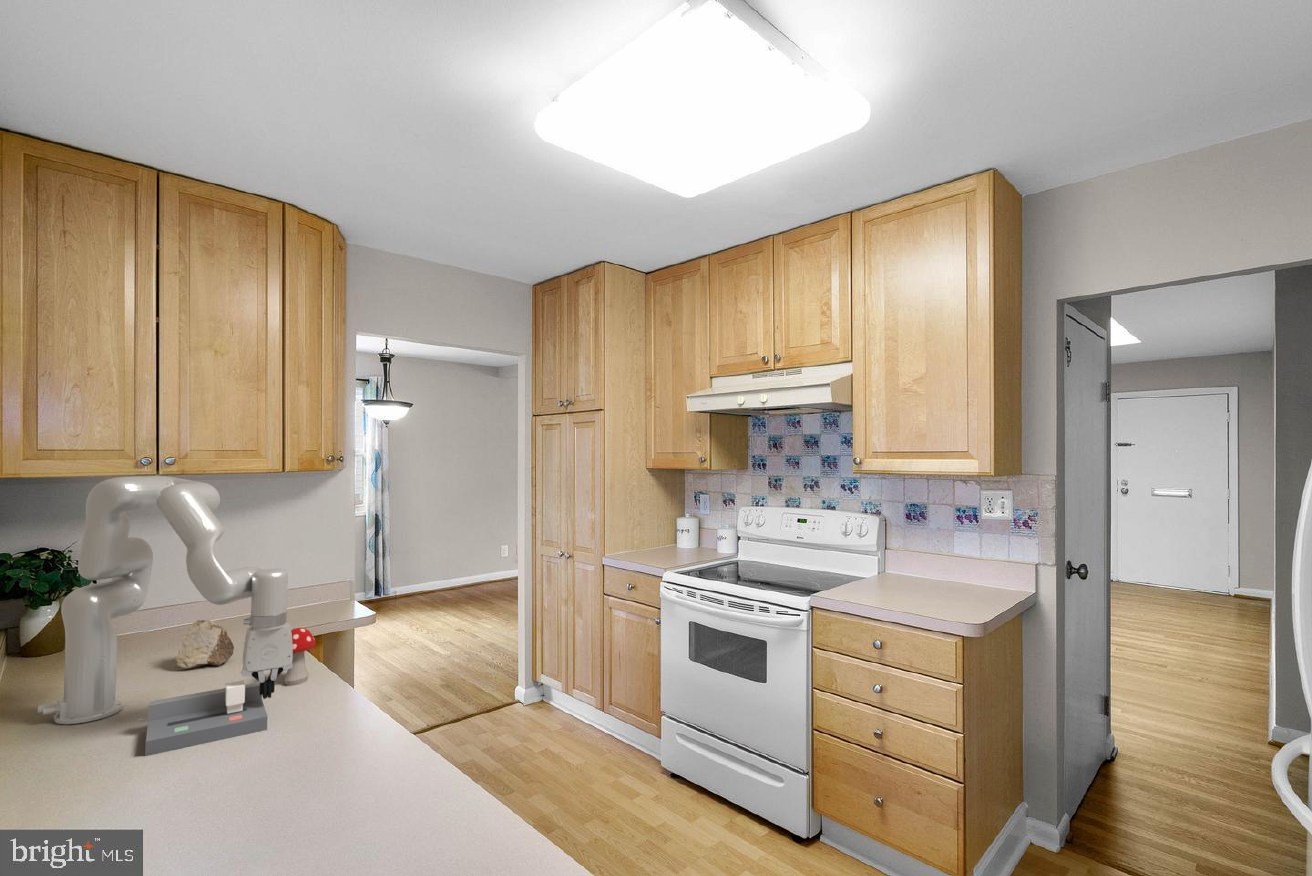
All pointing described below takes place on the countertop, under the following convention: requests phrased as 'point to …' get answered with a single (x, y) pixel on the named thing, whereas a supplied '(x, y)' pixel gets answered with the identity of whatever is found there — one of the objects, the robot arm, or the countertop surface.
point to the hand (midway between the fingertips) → (266, 696)
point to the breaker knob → (235, 696)
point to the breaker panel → (201, 719)
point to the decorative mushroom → (299, 656)
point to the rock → (204, 645)
